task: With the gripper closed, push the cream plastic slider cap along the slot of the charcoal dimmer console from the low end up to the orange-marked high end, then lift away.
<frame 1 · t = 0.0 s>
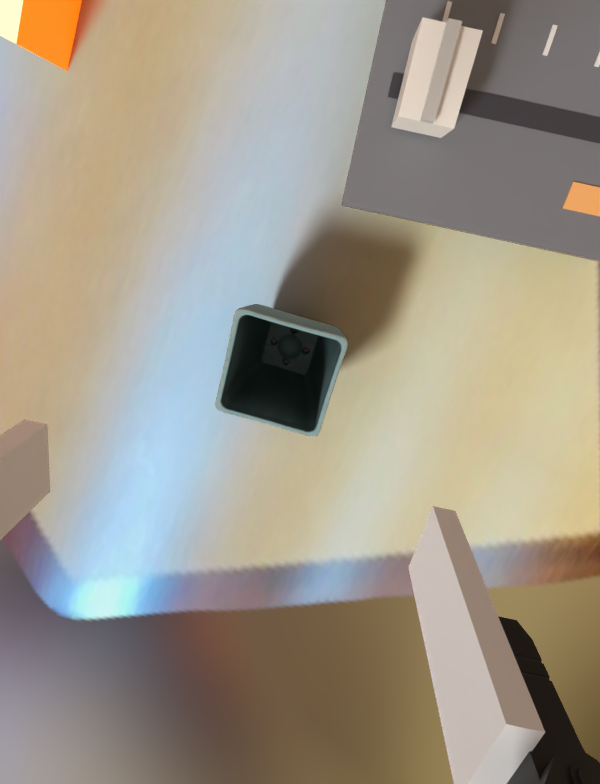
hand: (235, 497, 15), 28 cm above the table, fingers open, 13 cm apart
dimmer console: (503, 125, 33), on the table
slider cap: (433, 82, 27), point 7 cm above the table, slide at -7.0 cm
flower pot: (290, 343, 42), on the table
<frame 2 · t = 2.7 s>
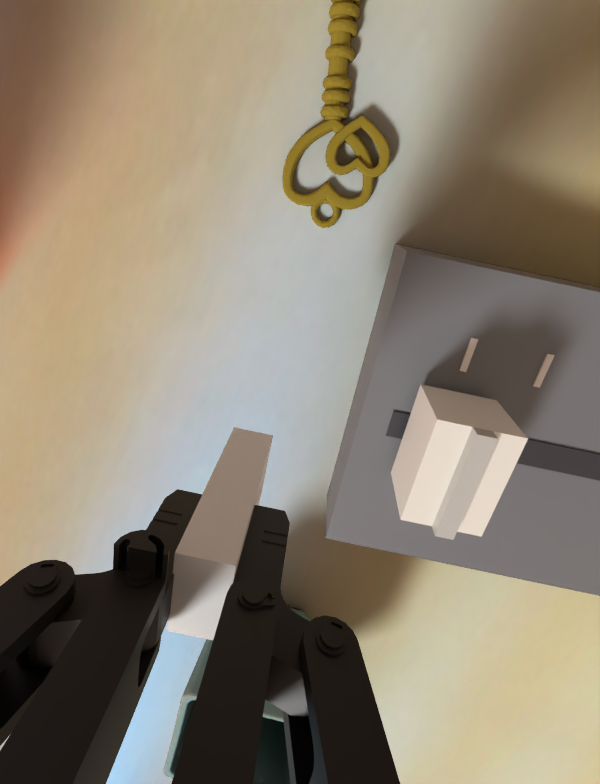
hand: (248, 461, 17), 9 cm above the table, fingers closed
dimmer console: (541, 424, 25), on the table
slider cap: (451, 461, 19), point 7 cm above the table, slide at -7.0 cm
key: (342, 91, 20), on the table
flower pot: (266, 619, 34), on the table
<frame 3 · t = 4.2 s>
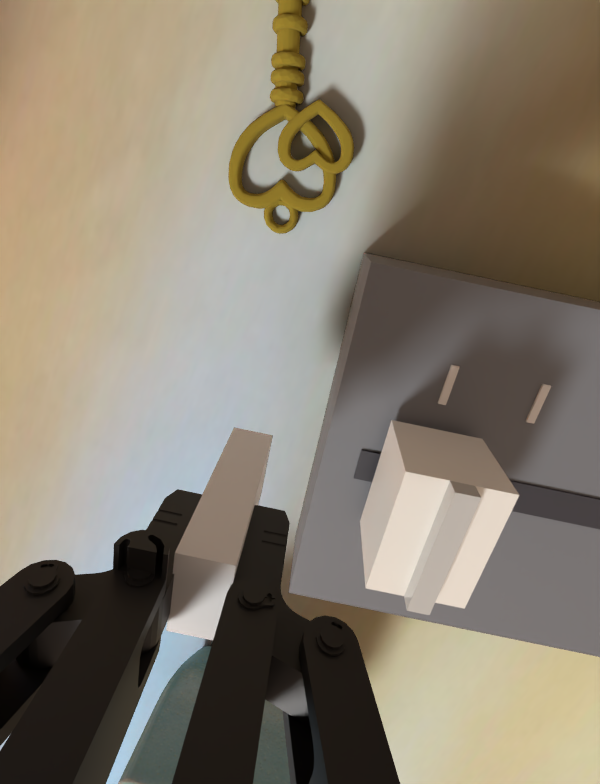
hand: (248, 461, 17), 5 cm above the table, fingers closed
dimmer console: (536, 459, 22), on the table
slider cap: (428, 515, 16), point 7 cm above the table, slide at -7.0 cm
key: (296, 73, 17), on the table
flower pot: (233, 670, 30), on the table
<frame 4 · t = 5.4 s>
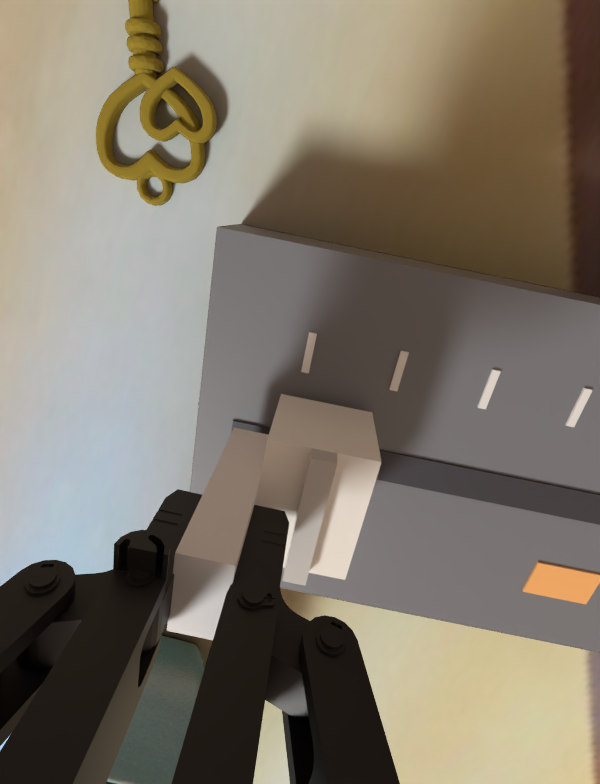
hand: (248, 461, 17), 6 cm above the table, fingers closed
dimmer console: (432, 434, 22), on the table
slider cap: (311, 487, 16), point 7 cm above the table, slide at -5.9 cm, touching gripper
key: (159, 42, 17), on the table
flower pot: (160, 653, 30), on the table
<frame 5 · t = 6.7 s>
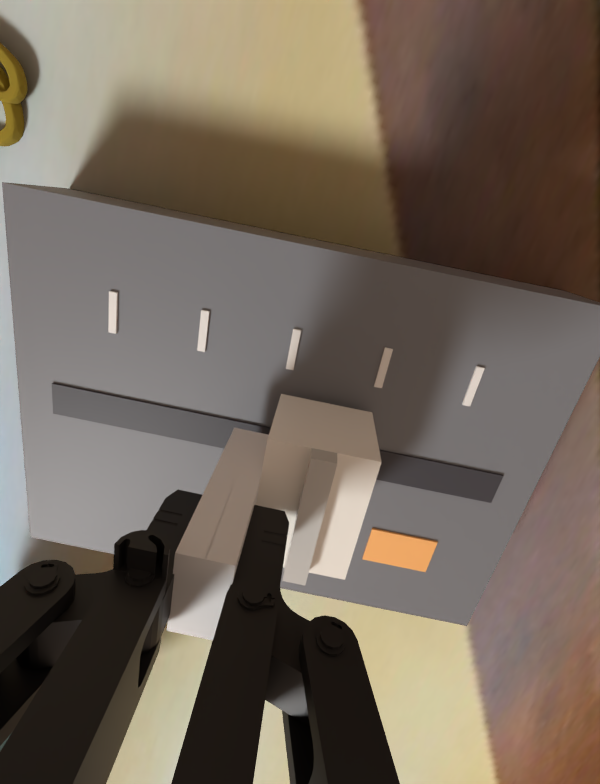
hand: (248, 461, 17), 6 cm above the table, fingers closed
dimmer console: (285, 404, 22), on the table
slider cap: (311, 487, 16), point 7 cm above the table, slide at 1.7 cm, touching gripper
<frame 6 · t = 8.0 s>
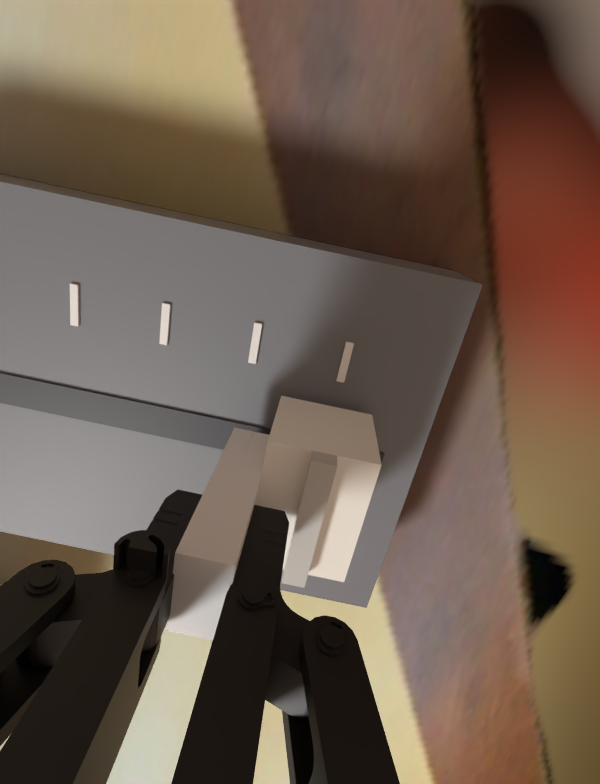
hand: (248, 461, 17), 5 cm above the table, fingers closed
dimmer console: (188, 385, 22), on the table
slider cap: (310, 489, 16), point 7 cm above the table, slide at 6.7 cm, touching gripper
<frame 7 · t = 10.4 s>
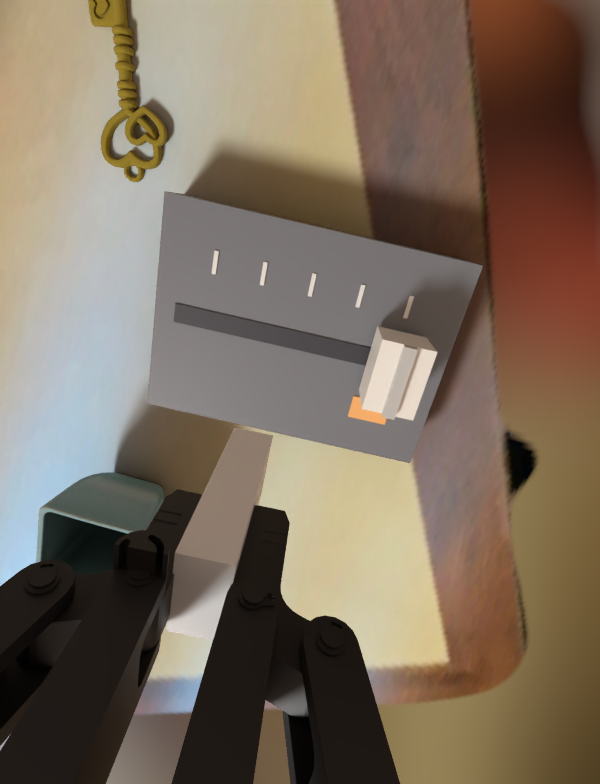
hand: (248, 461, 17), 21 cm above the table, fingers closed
dimmer console: (303, 328, 36), on the table
slider cap: (395, 373, 30), point 7 cm above the table, slide at 7.0 cm
key: (136, 91, 31), on the table
flower pot: (135, 495, 44), on the table
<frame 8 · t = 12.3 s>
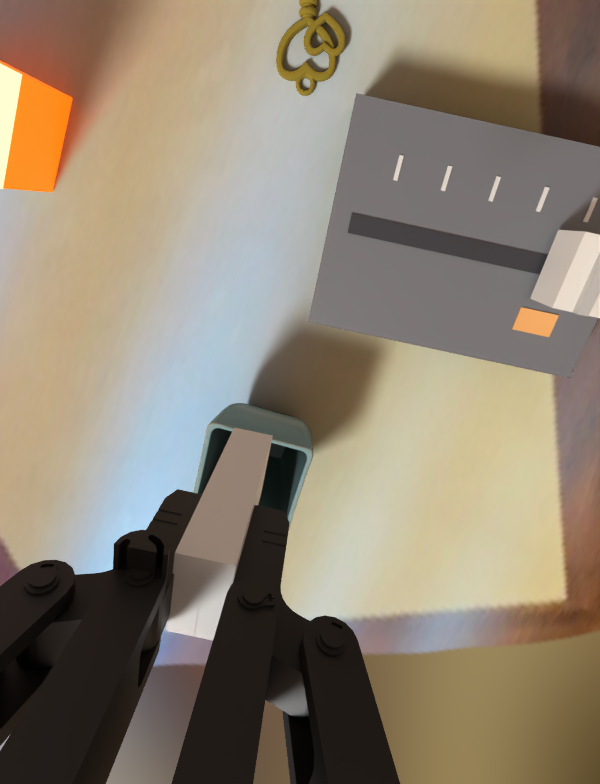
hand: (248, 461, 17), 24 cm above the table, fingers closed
dimmer console: (459, 246, 36), on the table
slider cap: (582, 273, 30), point 7 cm above the table, slide at 7.0 cm
key: (313, 0, 31), on the table
flower pot: (266, 429, 44), on the table
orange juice: (13, 122, 35), on the table
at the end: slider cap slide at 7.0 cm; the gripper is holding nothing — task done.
